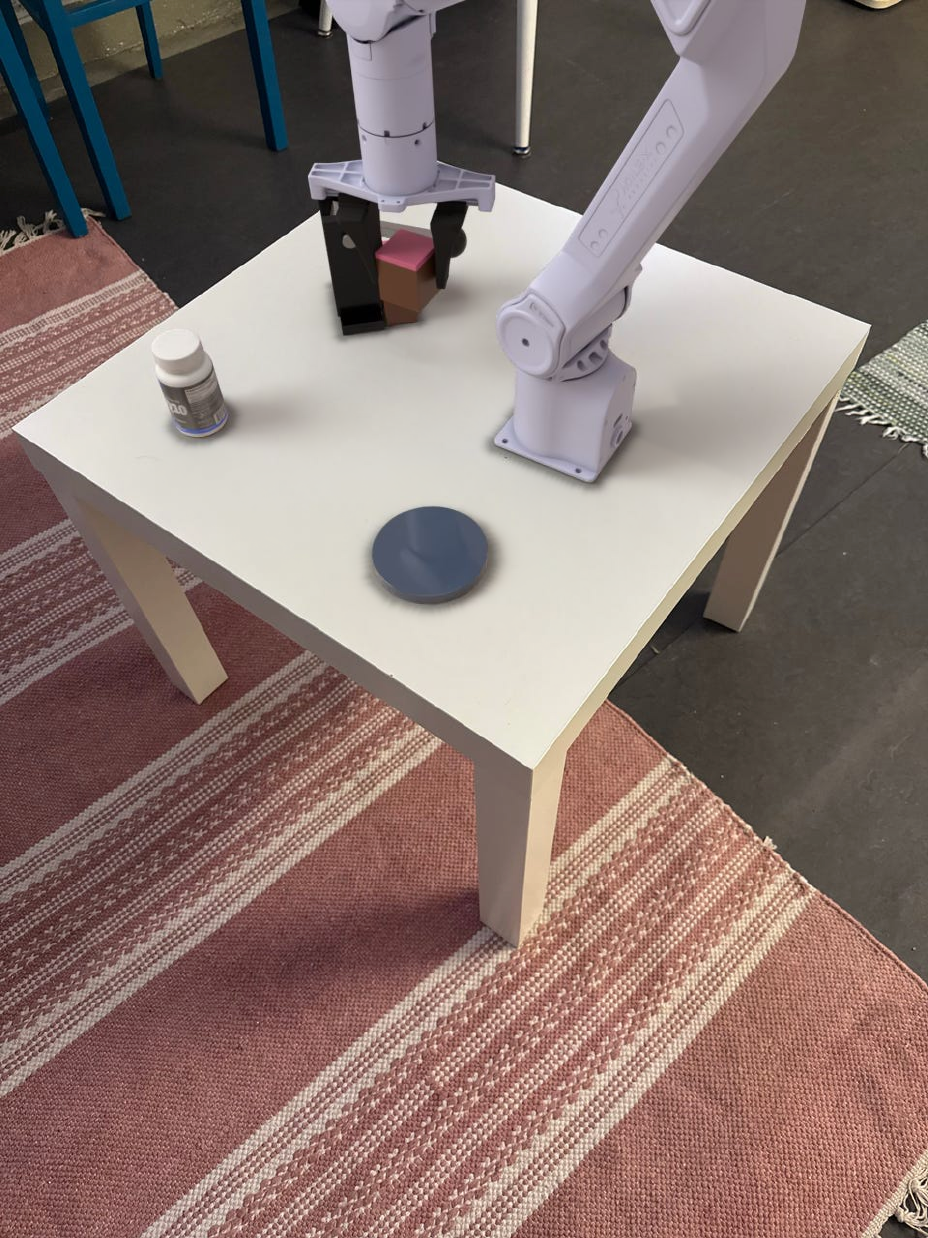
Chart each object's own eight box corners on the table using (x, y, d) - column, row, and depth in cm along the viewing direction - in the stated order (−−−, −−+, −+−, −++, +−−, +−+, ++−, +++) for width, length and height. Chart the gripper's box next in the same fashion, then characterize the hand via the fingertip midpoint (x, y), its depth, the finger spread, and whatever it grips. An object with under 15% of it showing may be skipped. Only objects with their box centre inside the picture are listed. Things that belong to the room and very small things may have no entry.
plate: (508, 541, 73) (509, 532, 72) (449, 622, 68) (448, 614, 68) (413, 498, 75) (412, 490, 75) (350, 574, 71) (349, 566, 70)
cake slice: (404, 274, 81) (400, 227, 78) (443, 287, 80) (440, 240, 76) (380, 299, 79) (374, 252, 76) (419, 312, 78) (415, 266, 74)
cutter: (458, 248, 89) (467, 220, 86) (464, 266, 87) (473, 238, 85) (326, 225, 84) (332, 194, 82) (329, 244, 82) (336, 213, 80)
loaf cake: (406, 278, 92) (402, 237, 89) (417, 321, 89) (414, 280, 85) (377, 282, 92) (372, 241, 89) (386, 325, 88) (382, 285, 85)
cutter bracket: (375, 279, 93) (362, 176, 84) (386, 329, 88) (374, 225, 79) (332, 285, 92) (314, 182, 83) (341, 335, 88) (323, 232, 79)
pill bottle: (165, 418, 82) (135, 341, 75) (211, 394, 83) (185, 316, 77) (192, 446, 80) (164, 370, 73) (239, 421, 81) (215, 344, 74)
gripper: (285, 139, 66) (316, 300, 77) (484, 152, 64) (486, 315, 75) (312, 91, 70) (337, 251, 81) (499, 102, 68) (499, 264, 79)
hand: (410, 279), depth 79 cm, fingers closed on cake slice, 5 cm apart
